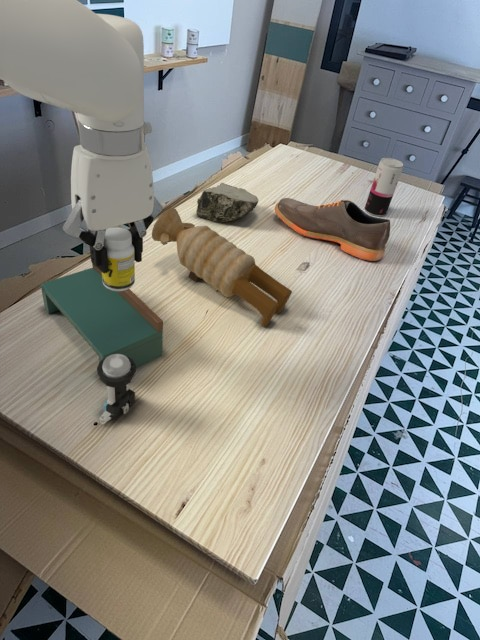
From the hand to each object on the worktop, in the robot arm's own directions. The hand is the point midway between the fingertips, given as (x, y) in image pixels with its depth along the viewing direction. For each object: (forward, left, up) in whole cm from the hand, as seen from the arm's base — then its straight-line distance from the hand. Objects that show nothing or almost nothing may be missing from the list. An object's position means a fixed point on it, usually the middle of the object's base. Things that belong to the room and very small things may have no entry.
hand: (117, 261), depth 68 cm
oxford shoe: (+66, +9, -19) cm, 70 cm away
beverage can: (+91, +11, -19) cm, 94 cm away
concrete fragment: (+49, +30, -19) cm, 61 cm away
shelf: (0, +7, -19) cm, 21 cm away
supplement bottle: (0, 0, -4) cm, 4 cm away
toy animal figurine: (+26, +6, -19) cm, 33 cm away
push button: (-7, -10, -19) cm, 23 cm away
